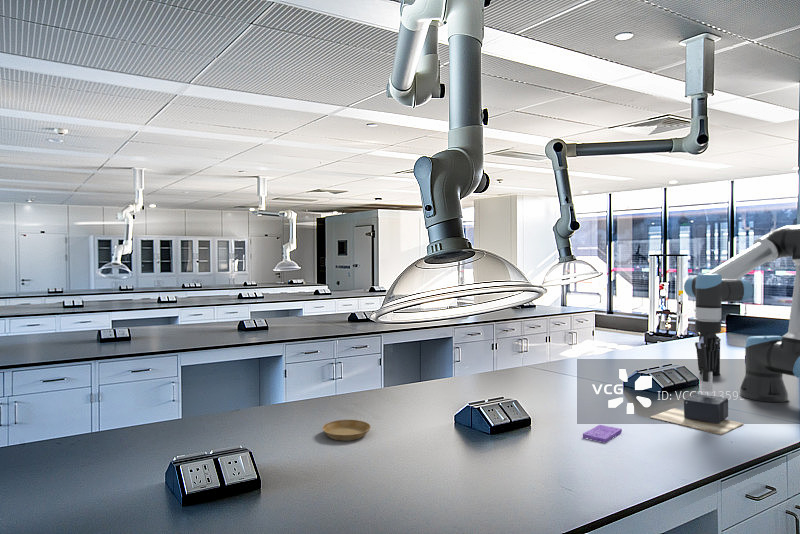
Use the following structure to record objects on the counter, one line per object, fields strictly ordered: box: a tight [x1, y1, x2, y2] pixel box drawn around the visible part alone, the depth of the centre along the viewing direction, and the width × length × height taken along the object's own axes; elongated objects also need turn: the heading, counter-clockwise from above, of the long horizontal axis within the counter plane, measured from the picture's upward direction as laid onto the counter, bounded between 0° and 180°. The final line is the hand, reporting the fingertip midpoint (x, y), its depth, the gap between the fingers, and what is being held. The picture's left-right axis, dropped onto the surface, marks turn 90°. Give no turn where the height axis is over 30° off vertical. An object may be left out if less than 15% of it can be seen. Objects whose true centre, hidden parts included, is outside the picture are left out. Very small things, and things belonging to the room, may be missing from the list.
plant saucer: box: [321, 419, 371, 441], centre depth 170 cm, size 15×15×3 cm
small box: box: [683, 393, 729, 424], centre depth 182 cm, size 11×6×10 cm
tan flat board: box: [649, 407, 744, 436], centre depth 180 cm, size 16×22×1 cm
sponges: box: [582, 424, 623, 444], centre depth 167 cm, size 7×13×2 cm, turn 138°
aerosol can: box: [699, 335, 722, 377], centre depth 247 cm, size 8×8×20 cm
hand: (707, 390), depth 185 cm, fingers closed
